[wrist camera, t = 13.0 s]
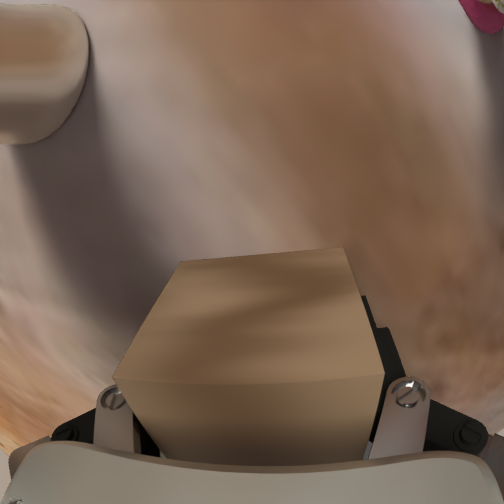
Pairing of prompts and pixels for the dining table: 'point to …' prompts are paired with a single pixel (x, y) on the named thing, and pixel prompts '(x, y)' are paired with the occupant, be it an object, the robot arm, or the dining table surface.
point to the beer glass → (39, 69)
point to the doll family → (485, 14)
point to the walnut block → (257, 362)
